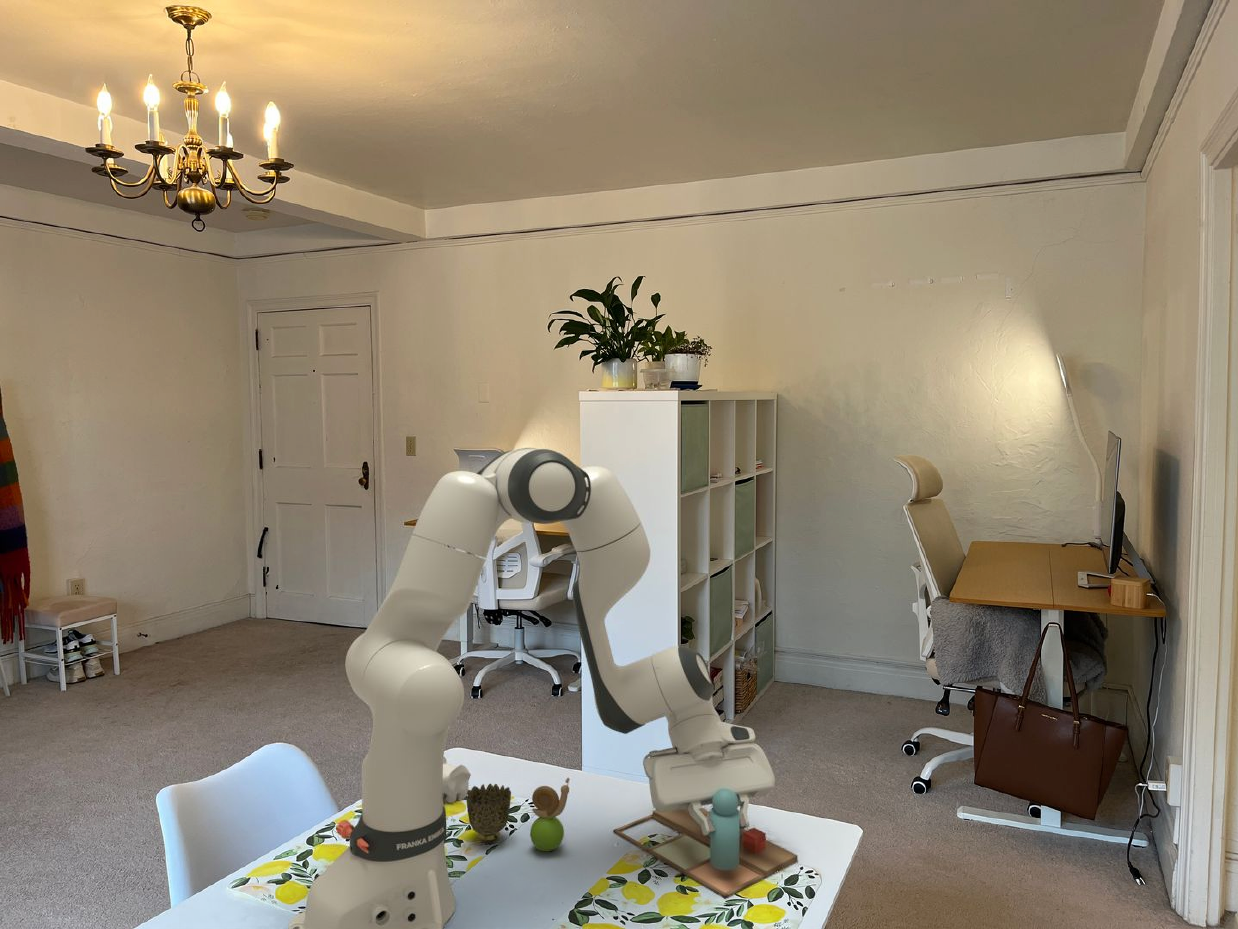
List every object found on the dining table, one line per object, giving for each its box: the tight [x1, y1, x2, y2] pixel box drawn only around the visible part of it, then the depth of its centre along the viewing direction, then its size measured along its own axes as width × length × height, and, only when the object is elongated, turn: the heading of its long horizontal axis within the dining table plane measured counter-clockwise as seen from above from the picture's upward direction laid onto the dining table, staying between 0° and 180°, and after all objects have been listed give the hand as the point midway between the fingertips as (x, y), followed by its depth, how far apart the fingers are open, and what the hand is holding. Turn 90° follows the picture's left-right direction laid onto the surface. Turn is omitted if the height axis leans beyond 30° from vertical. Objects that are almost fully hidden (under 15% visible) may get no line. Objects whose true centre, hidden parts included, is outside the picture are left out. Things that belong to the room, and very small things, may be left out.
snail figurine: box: [529, 777, 570, 852], centre depth 140 cm, size 5×6×12 cm
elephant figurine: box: [443, 756, 472, 804], centre depth 158 cm, size 8×10×7 cm
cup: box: [465, 783, 512, 844], centre depth 143 cm, size 8×7×8 cm
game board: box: [612, 807, 799, 899], centre depth 141 cm, size 16×26×6 cm, turn 40°
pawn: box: [710, 788, 740, 870], centre depth 132 cm, size 4×4×12 cm
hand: (726, 830), depth 132 cm, fingers closed on pawn, 4 cm apart
